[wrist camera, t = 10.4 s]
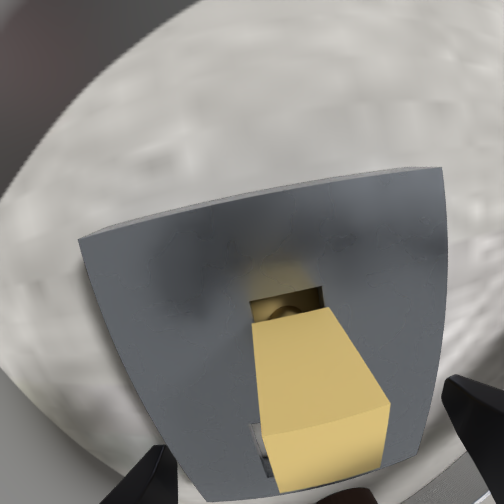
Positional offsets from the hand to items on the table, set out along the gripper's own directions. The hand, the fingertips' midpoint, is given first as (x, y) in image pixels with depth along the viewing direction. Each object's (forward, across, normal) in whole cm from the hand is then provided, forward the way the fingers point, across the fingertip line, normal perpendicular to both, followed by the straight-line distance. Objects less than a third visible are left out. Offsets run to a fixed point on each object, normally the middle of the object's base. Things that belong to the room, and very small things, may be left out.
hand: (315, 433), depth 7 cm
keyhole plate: (+8, 0, +4) cm, 9 cm away
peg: (+8, 0, 0) cm, 8 cm away
